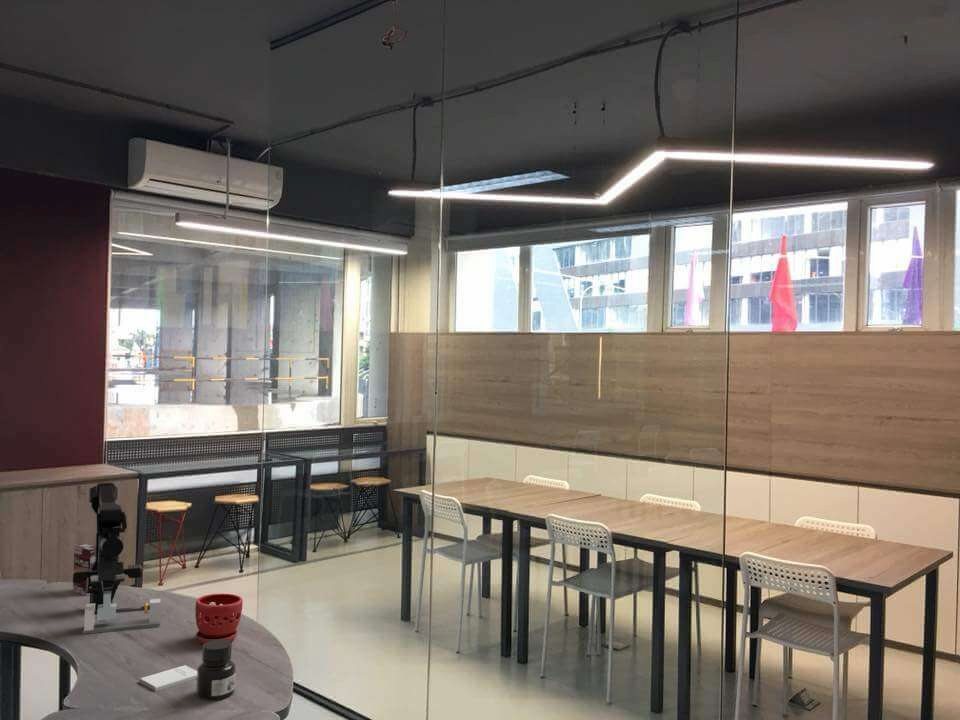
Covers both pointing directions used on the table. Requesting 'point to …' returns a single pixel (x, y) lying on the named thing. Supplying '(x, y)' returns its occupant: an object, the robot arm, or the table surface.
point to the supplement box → (83, 564)
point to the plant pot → (218, 617)
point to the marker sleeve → (106, 608)
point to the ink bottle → (216, 671)
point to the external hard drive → (169, 678)
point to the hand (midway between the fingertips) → (107, 601)
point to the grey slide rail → (128, 624)
